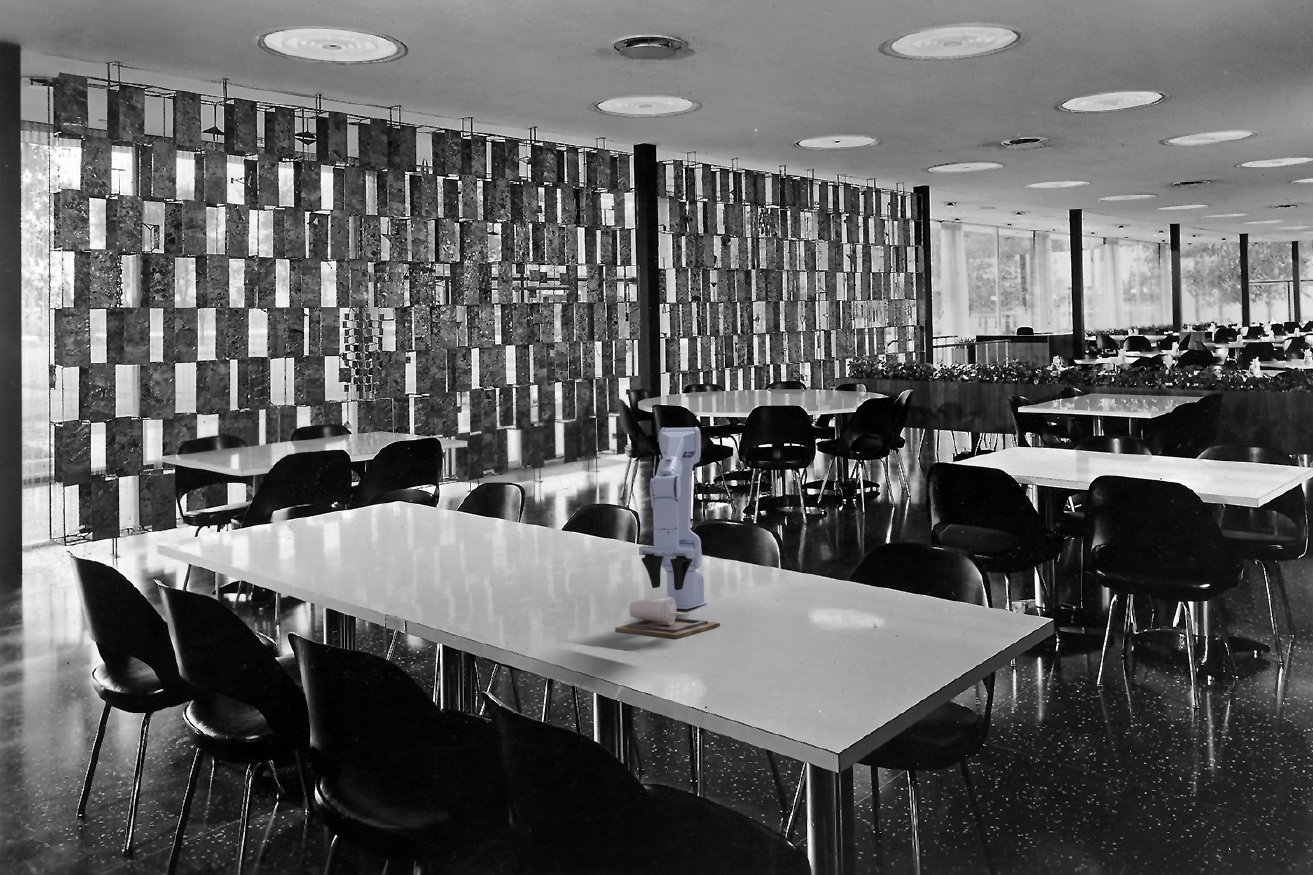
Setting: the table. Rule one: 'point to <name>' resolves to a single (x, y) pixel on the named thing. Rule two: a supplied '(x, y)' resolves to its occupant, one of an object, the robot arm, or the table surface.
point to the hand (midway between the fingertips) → (667, 588)
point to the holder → (668, 628)
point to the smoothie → (655, 610)
